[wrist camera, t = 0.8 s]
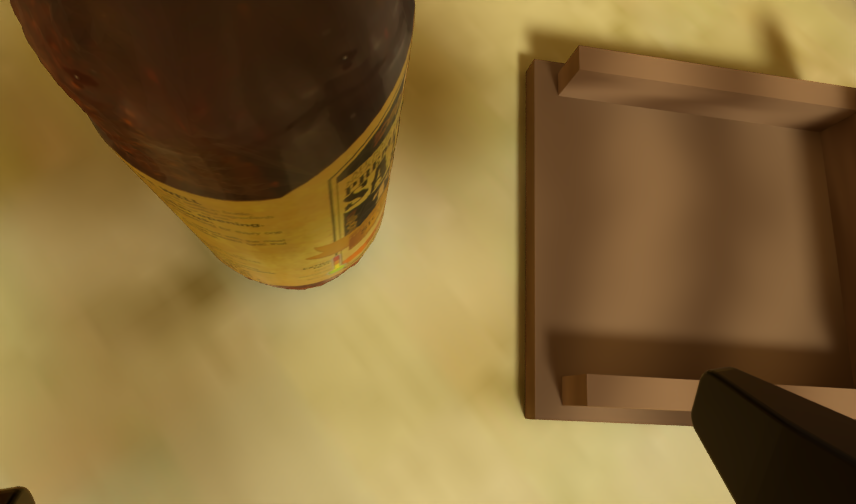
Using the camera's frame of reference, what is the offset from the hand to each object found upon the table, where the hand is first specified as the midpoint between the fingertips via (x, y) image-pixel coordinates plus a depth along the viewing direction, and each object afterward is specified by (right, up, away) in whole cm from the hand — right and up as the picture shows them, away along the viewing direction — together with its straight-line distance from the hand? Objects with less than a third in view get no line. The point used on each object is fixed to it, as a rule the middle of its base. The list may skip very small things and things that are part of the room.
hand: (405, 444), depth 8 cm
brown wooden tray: (+11, +3, +17) cm, 20 cm away
